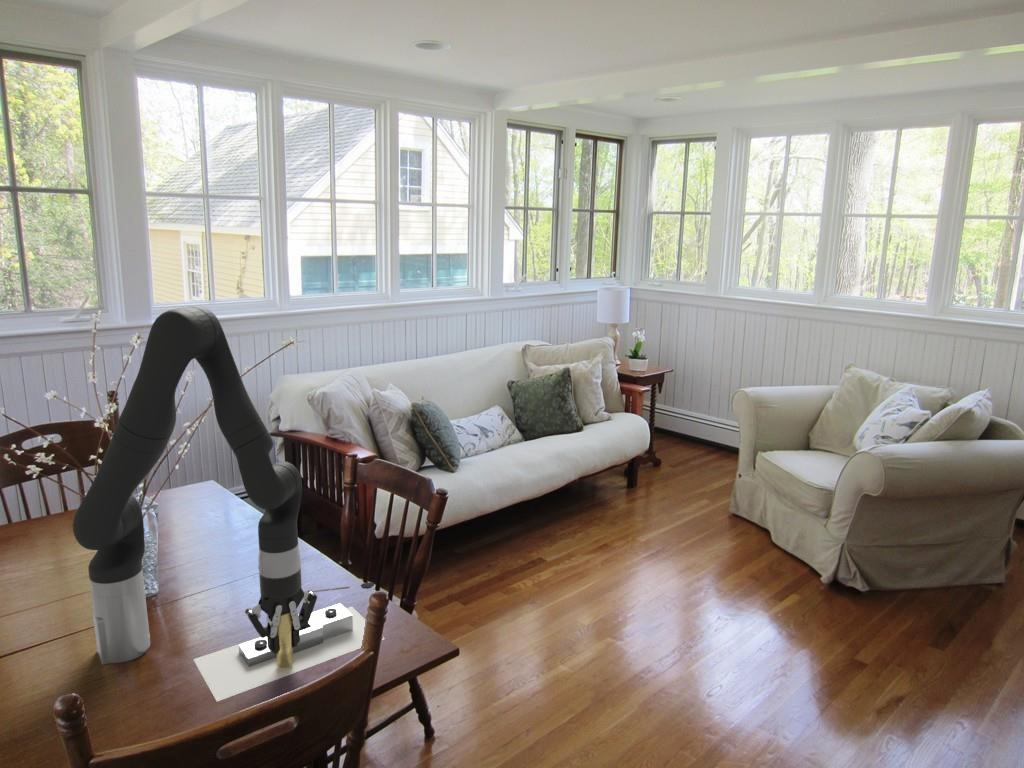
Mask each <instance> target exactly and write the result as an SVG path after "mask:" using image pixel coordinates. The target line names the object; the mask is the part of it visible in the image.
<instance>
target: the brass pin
mask: <svg viewBox="0 0 1024 768" xmlns="http://www.w3.org/2000/svg"><path fill="white" fill-rule="evenodd" d="M277 637H278V653H276V664H277V666H278V667H288V666H290V665H292V664H293V662H294V661H293V641H292V621H291V614H290V613H287V614H283V615H280V622H279V626H278V628H277Z"/></svg>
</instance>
